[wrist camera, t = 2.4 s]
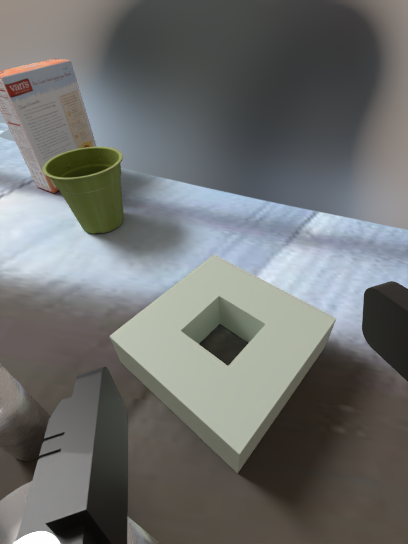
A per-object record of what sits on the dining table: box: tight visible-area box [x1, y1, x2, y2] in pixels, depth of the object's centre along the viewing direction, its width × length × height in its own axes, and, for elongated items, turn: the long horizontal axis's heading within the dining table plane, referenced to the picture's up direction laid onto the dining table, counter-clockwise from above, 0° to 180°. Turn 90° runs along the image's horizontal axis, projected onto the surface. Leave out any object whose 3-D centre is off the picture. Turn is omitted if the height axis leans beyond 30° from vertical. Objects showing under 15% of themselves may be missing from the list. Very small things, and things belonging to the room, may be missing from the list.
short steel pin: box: [0, 364, 51, 461], centre depth 25 cm, size 4×4×10 cm
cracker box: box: [0, 59, 97, 193], centre depth 61 cm, size 14×6×21 cm, turn 147°
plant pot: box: [43, 147, 123, 234], centre depth 51 cm, size 12×12×11 cm
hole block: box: [109, 255, 336, 473], centre depth 32 cm, size 16×16×5 cm
